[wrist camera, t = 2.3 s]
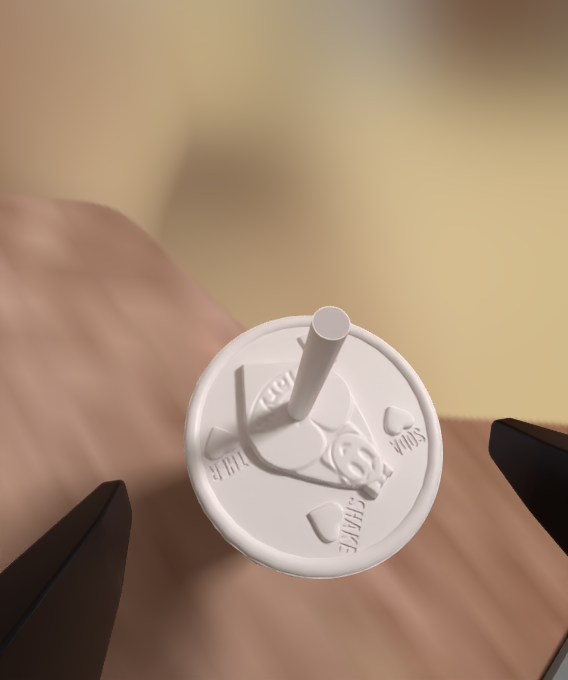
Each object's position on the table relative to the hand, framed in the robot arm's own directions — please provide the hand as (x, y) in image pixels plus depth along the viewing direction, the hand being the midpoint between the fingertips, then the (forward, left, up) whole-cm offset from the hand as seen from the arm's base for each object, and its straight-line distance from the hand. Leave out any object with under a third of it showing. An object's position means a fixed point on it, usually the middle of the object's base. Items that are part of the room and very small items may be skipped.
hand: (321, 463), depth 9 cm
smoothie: (+1, 0, -10) cm, 10 cm away
